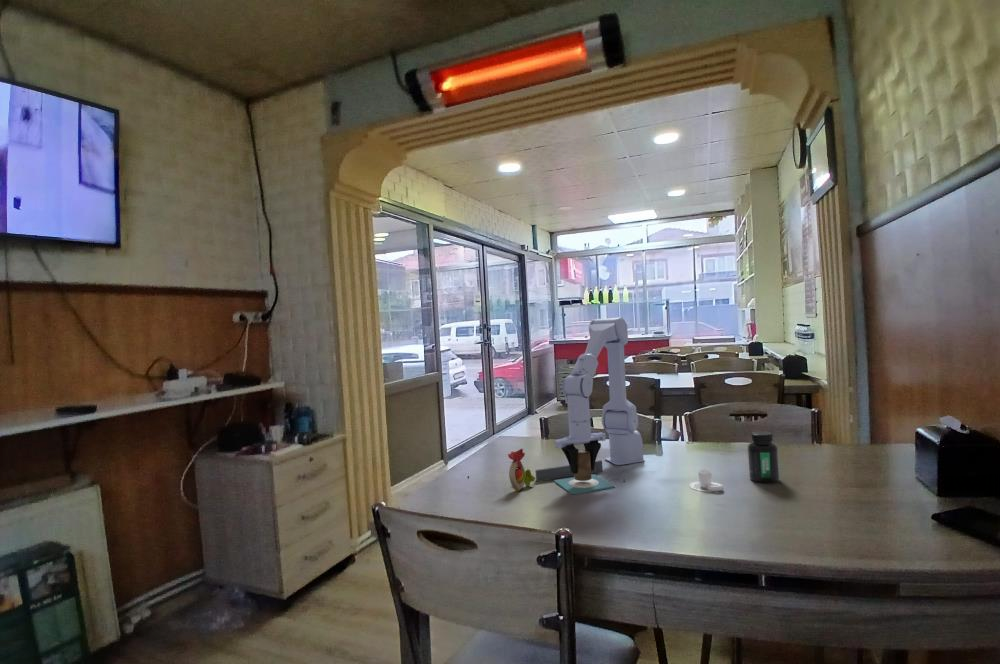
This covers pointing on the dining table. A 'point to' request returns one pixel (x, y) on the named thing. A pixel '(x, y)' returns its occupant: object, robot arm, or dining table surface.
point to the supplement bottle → (763, 458)
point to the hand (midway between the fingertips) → (582, 471)
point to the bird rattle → (519, 471)
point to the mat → (583, 485)
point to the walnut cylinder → (583, 466)
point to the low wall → (562, 471)
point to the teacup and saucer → (706, 482)
